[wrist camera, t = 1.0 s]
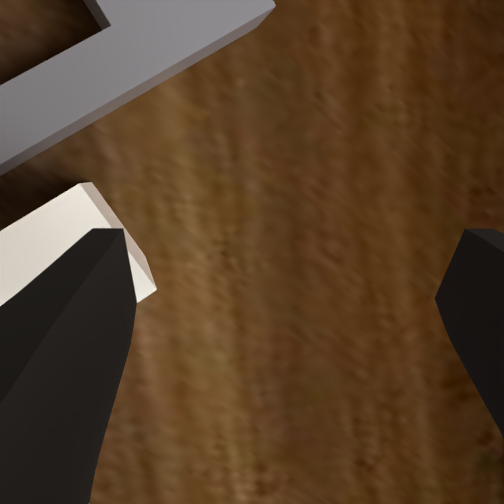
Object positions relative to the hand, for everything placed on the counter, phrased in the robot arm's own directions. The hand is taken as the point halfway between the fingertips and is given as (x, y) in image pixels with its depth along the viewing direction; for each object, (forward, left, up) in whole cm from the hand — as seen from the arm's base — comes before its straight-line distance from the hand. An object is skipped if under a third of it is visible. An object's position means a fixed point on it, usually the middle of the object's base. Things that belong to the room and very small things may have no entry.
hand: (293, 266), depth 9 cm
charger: (-5, +2, -11) cm, 12 cm away
